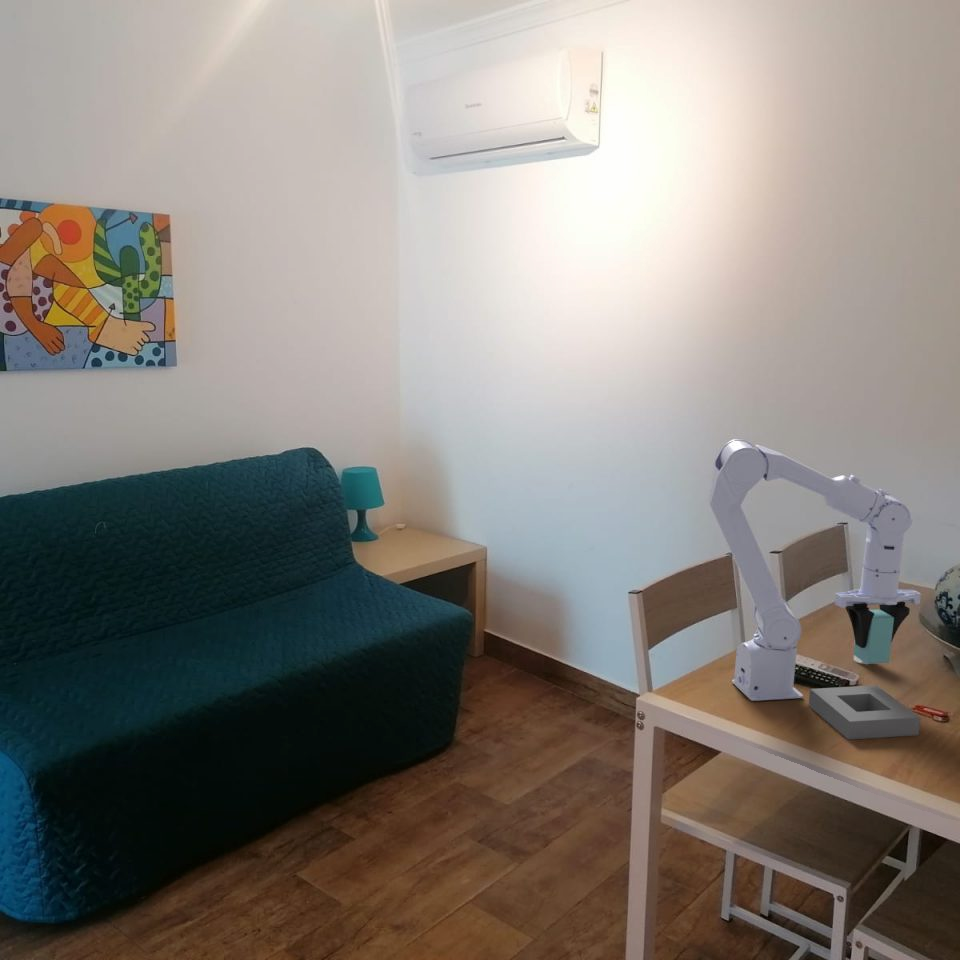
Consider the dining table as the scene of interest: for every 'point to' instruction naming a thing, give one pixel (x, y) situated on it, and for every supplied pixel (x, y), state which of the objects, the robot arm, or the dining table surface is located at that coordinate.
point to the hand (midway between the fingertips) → (872, 645)
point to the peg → (877, 639)
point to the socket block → (874, 722)
